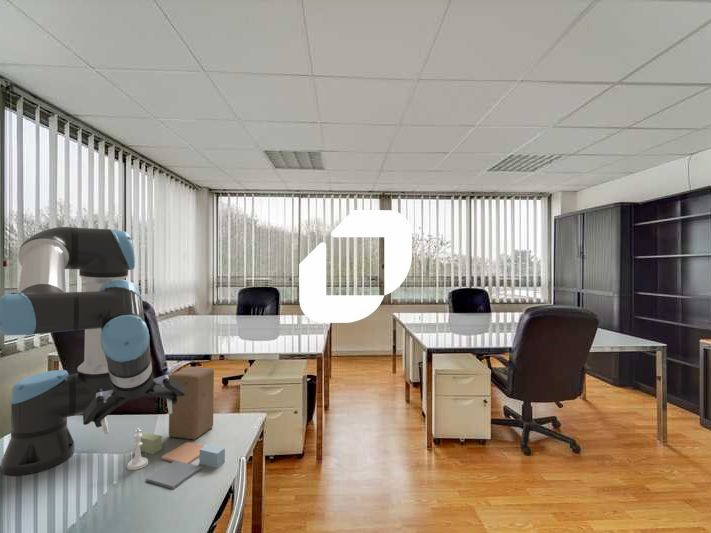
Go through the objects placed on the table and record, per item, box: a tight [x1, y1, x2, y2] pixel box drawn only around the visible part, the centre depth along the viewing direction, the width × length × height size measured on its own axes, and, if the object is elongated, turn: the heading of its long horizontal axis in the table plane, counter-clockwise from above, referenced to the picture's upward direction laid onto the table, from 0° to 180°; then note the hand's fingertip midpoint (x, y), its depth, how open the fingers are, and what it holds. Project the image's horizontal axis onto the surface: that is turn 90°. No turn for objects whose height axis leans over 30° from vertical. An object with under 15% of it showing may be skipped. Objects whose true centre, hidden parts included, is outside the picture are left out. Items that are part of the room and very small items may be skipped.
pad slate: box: [145, 460, 202, 490], centre depth 92 cm, size 9×9×1 cm
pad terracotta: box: [161, 441, 205, 464], centre depth 102 cm, size 9×9×1 cm
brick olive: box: [140, 432, 163, 455], centre depth 104 cm, size 6×3×4 cm, turn 70°
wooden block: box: [168, 366, 215, 440], centre depth 116 cm, size 10×10×20 cm
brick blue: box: [198, 444, 226, 469], centre depth 98 cm, size 6×3×4 cm, turn 70°
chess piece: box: [126, 427, 149, 471], centre depth 97 cm, size 5×5×10 cm
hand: (139, 418), depth 89 cm, fingers open, 13 cm apart
